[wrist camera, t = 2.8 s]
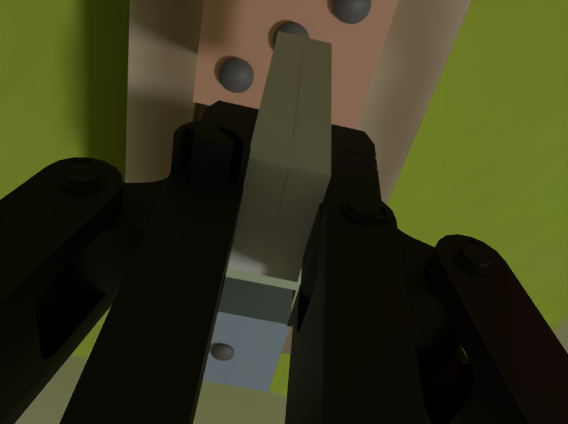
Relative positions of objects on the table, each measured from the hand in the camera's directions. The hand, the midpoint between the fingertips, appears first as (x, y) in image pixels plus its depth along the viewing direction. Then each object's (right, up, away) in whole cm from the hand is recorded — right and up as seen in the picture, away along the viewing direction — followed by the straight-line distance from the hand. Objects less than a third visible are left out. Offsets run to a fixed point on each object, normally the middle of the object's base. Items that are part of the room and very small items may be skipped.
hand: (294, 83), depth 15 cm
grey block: (-3, -9, +16) cm, 18 cm away
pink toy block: (0, +4, +6) cm, 7 cm away
